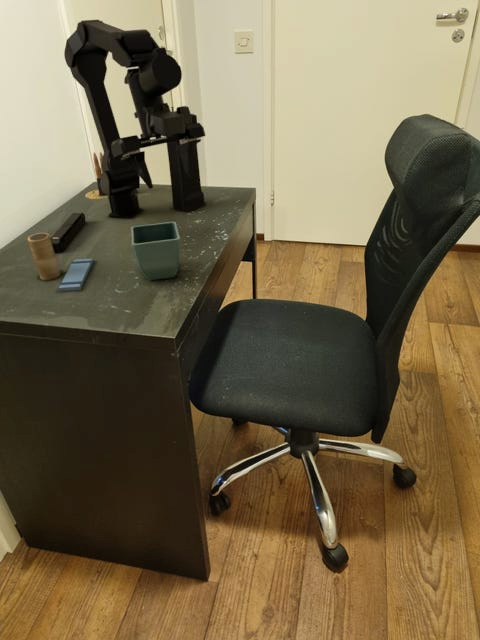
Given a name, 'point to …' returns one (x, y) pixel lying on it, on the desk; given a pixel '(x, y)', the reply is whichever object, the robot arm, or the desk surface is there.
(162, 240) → the flower pot
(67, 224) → the black rectangular bar
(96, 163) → the ammunition clip
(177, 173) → the portable radio
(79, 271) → the light blue flat block
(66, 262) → the desk surface
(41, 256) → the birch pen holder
